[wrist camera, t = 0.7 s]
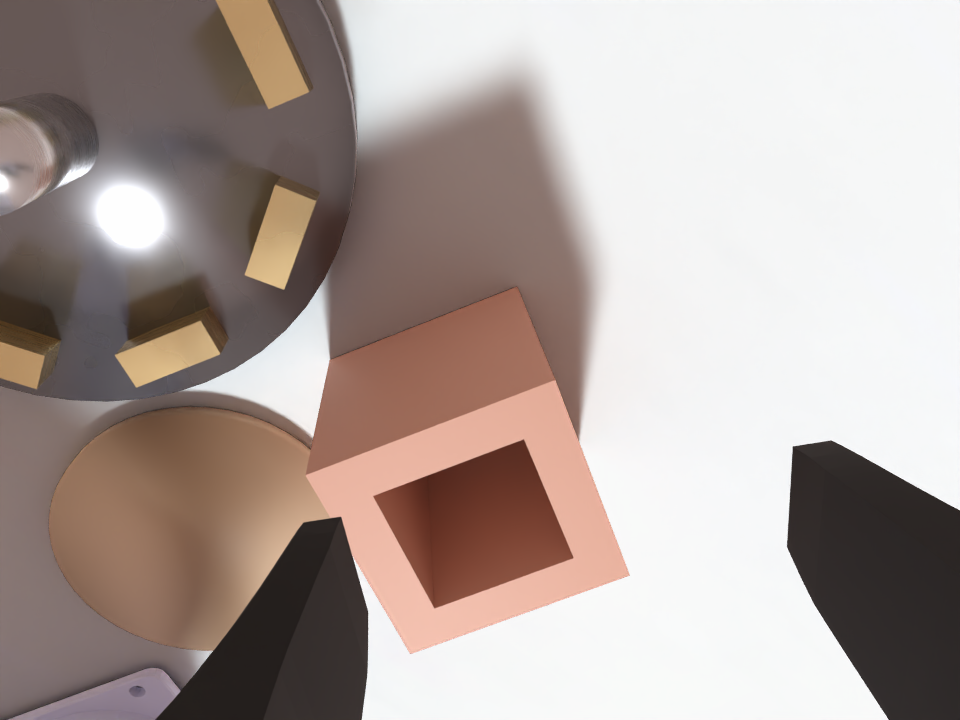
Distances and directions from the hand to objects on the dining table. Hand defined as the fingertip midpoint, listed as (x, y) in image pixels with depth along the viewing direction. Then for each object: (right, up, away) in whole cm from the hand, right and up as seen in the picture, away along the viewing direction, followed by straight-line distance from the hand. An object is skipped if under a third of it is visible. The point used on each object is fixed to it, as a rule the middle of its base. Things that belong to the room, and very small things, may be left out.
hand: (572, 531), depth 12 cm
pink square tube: (-2, +1, +11) cm, 11 cm away
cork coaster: (-10, -3, +12) cm, 16 cm away
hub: (-12, +8, +7) cm, 16 cm away
